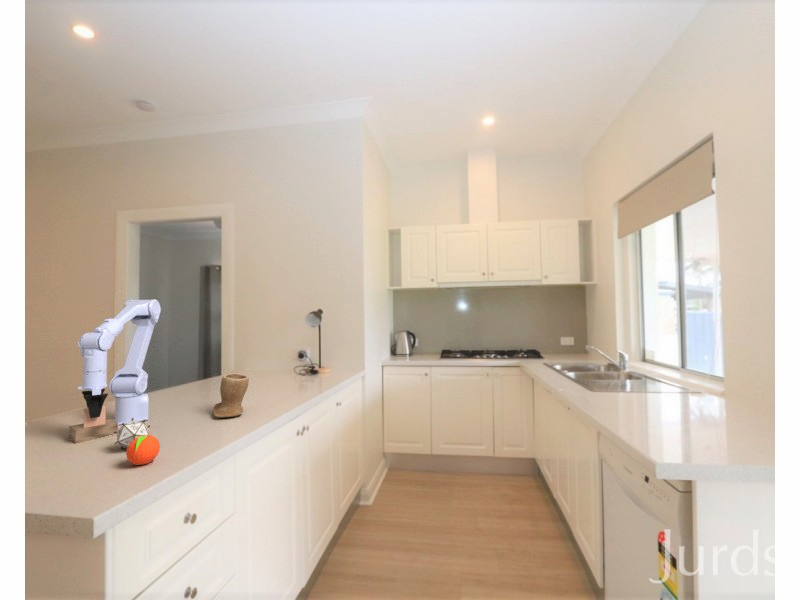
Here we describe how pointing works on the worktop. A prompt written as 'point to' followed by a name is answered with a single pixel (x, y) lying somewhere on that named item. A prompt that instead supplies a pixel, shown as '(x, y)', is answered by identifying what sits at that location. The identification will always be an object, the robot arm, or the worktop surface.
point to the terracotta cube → (94, 421)
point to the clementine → (143, 449)
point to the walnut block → (92, 431)
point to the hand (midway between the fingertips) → (94, 415)
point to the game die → (131, 432)
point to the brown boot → (231, 395)
